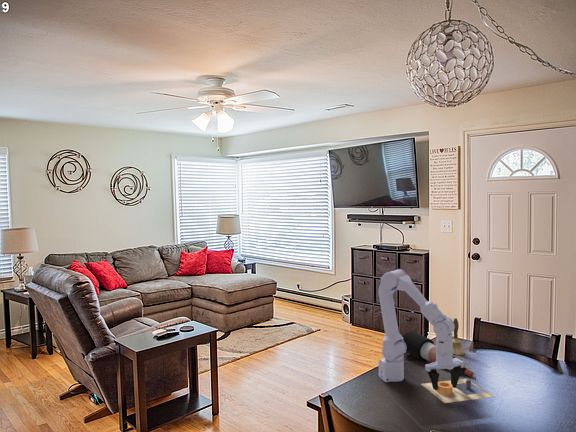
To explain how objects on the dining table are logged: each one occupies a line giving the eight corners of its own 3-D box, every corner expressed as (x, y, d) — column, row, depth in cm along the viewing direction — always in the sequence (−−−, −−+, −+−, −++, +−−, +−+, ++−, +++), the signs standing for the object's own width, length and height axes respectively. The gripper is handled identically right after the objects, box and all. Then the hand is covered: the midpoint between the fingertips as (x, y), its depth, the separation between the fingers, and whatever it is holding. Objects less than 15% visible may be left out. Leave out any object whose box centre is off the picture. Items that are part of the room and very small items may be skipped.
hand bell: (468, 355, 199) (468, 320, 199) (450, 355, 199) (450, 321, 198) (460, 348, 208) (460, 315, 207) (443, 349, 207) (443, 316, 207)
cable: (466, 392, 172) (460, 372, 168) (405, 356, 201) (399, 339, 198) (482, 376, 175) (477, 357, 172) (420, 343, 205) (414, 326, 201)
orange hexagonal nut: (441, 395, 156) (441, 388, 156) (433, 389, 162) (433, 382, 162) (455, 393, 158) (455, 386, 158) (446, 387, 163) (446, 380, 163)
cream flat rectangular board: (444, 406, 151) (444, 393, 151) (420, 387, 166) (420, 375, 166) (494, 399, 155) (494, 387, 155) (466, 381, 171) (466, 370, 171)
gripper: (432, 357, 154) (432, 395, 154) (468, 353, 157) (468, 390, 157) (422, 350, 160) (422, 386, 161) (457, 347, 164) (457, 382, 164)
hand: (444, 388), depth 160 cm, fingers open, 7 cm apart
